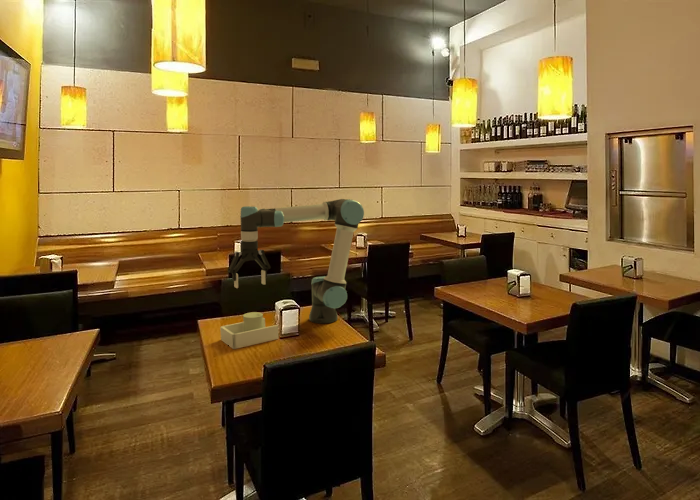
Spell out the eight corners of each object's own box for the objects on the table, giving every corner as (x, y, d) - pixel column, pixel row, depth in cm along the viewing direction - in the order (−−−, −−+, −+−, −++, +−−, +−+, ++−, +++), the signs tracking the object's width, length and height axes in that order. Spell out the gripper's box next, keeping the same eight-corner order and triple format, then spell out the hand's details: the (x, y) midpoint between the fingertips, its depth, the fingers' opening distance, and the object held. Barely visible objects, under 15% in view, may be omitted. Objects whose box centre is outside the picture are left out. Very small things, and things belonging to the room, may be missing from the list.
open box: (264, 330, 229) (264, 317, 228) (278, 338, 217) (278, 325, 216) (221, 339, 217) (220, 326, 216) (233, 349, 205) (232, 335, 204)
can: (261, 341, 214) (260, 316, 212) (241, 341, 214) (240, 316, 212) (265, 335, 223) (264, 311, 221) (246, 335, 223) (245, 311, 221)
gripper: (270, 237, 223) (270, 281, 225) (219, 241, 208) (221, 287, 211) (277, 239, 217) (277, 284, 220) (226, 242, 202) (227, 290, 205)
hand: (250, 285), depth 215 cm, fingers open, 13 cm apart
